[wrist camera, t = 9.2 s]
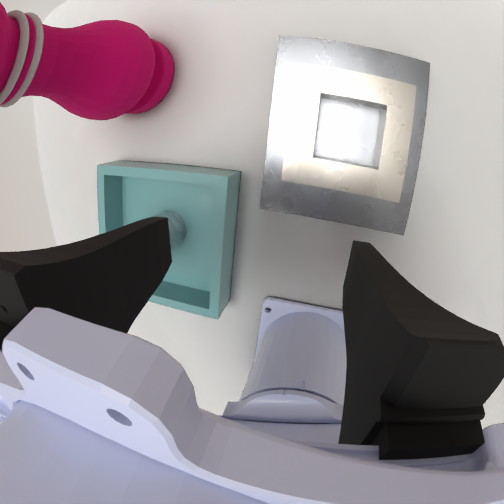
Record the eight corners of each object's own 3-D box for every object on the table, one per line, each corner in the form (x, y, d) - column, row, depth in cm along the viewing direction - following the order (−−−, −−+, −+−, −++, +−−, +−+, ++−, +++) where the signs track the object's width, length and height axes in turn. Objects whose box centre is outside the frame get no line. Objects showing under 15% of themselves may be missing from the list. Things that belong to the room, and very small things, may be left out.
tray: (229, 299, 26) (217, 319, 23) (123, 273, 27) (104, 288, 25) (241, 171, 22) (228, 176, 19) (120, 160, 23) (97, 165, 21)
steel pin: (184, 251, 24) (122, 304, 17) (151, 241, 25) (84, 288, 17) (188, 215, 23) (121, 257, 15) (153, 206, 23) (80, 243, 16)
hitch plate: (400, 231, 20) (412, 247, 17) (262, 205, 22) (251, 217, 19) (425, 65, 16) (442, 54, 13) (281, 39, 17) (272, 23, 14)
